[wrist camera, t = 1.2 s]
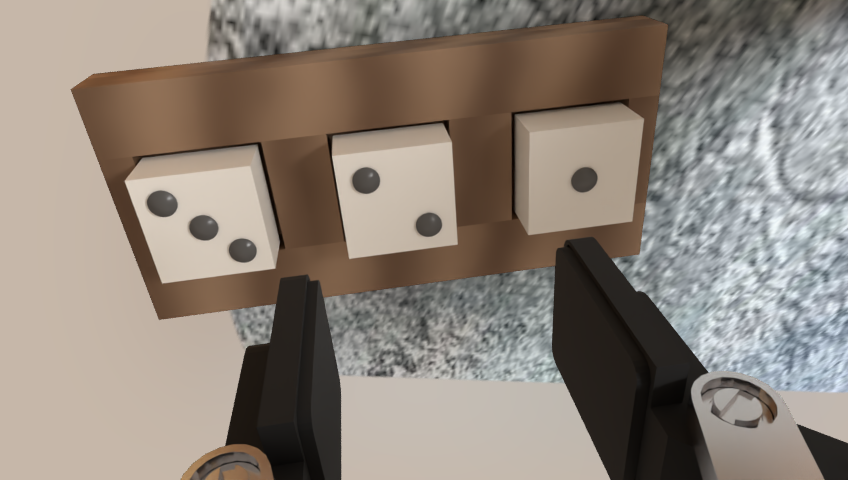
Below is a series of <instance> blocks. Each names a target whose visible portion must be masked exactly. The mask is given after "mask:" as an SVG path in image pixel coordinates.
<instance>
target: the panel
mask: <svg viewBox="0 0 848 480" xmlns="http://www.w3.org/2000/svg"><path fill="white" fill-rule="evenodd" d="M667 30H668V24H665V23H662V22H659V21H656V20H654V19H651V18H648V17H645V16H643V15H641V16H632V17H623V18H613V19H604V20H594V21H585V22H576V23H566V24H557V25H548V26H538V27H529V28H520V29H510V30H501V31H492V32H482V33H473V34H463V35H454V36H445V37H435V38H426V39H417V40H407V41H398V42H389V43H379V44H370V45H360V46H351V47H342V48H332V49H323V50H314V51H304V52H295V53H286V54H276V55H267V56H257V57H248V58H239V59H229V60H220V61H211V62H201V63H193V64H183V65H174V66H164V67H155V68H146V69H136V70H126V71H117V72H108V73H98V74H93V75H91V76H90V77H88V78H87V79H85V80H84V81H82V82H81V83H79V84H78V85H76V86H75V87H74V88H72V89H71V91H72V94H73V97H74V99H75V102H76V104H77V107H78V110H79V112H80V115H81V117H82V120H83V123H84V125H85V128H86V131H87V133H88V136H89V138H90V141H91V144H92V146H93V149H94V151H95V154H96V157H97V159H98V162H99V164H100V167H101V170H102V172H103V175H104V178H105V180H106V183H107V185H108V188H109V191H110V193H111V196H112V198H113V201H114V204H115V206H116V209H117V211H118V214H119V217H120V219H121V222H122V224H123V227H124V230H125V232H126V235H127V238H128V240H129V243H130V245H131V248H132V251H133V253H134V256H135V258H136V261H137V263H138V266H139V269H140V271H141V274H142V277H143V279H144V282H145V284H146V287H147V290H148V292H149V295H150V298H151V300H152V303H153V305H154V308H155V311H156V313H157V316H158V318H159V320H161V319H168V318H176V317H183V316H190V315H197V314H204V313H212V312H220V311H227V310H234V309H242V308H249V307H256V306H264V305H271V304H276V302H277V295H278V289H279V283H280V279H281V278H284V277H291V276H299V275H306V274H308V275H309V278H310V281H314V280H319V281H320V284H321V289H322V294H323V297H330V296H337V295H345V294H352V293H359V292H367V291H374V290H381V289H389V288H396V287H403V286H411V285H418V284H425V283H433V282H440V281H447V280H455V279H462V278H469V277H477V276H484V275H491V274H499V273H506V272H513V271H521V270H528V269H536V268H543V267H550V266H555V261H556V250H557V249H558V248H561V247H564V243H565V241H566V240H570V239H578V238H585V237H594V238H595V239H596V240H597V241H598V243H599V244H600V245H601V247H602V248H603V249H604V251H605V252H606V253H607V254H608V256H609V257H610V258H616V257H624V256H631V255H638V254H639V253H640V245H641V237H642V229H643V221H644V213H645V205H646V197H647V189H648V181H649V173H650V165H651V157H652V150H653V142H654V134H655V126H656V118H657V110H658V102H659V94H660V86H661V78H662V70H663V62H664V54H665V46H666V38H667ZM616 102H621V103H622V104H624V105H625V106H626V107H628V108H629V109H631V110H632V111H634V112H635V113H636V114H638V115H639V116H641V117H642V118H644V124H643V132H642V141H641V150H640V159H639V167H638V176H637V185H636V193H635V202H634V211H633V220H632V222H625V223H617V224H610V225H602V226H594V227H587V228H579V229H572V230H564V231H556V232H549V233H541V234H534V235H528V234H527V232H526V230H525V228H524V227H523V225H522V223H521V221H520V220H519V218H518V216H517V215H516V213H515V150H514V114H522V113H530V112H539V111H547V110H556V109H564V108H573V107H581V106H590V105H598V104H607V103H616ZM436 123H443V124H444V127H445V129H446V131H447V133H448V135H449V137H450V139H451V141H452V154H453V172H454V189H455V207H456V224H457V242H458V245H450V246H443V247H435V248H428V249H420V250H413V251H405V252H397V253H390V254H382V255H375V256H367V257H360V258H352V259H349V255H348V249H347V243H346V237H345V231H344V225H343V219H342V213H341V207H340V201H339V195H338V189H337V183H336V177H335V171H334V165H333V159H332V140H333V136H334V135H342V134H351V133H359V132H368V131H377V130H385V129H394V128H402V127H411V126H419V125H428V124H436ZM257 144H258V148H259V153H260V157H261V161H262V165H263V170H264V174H265V178H266V183H267V187H268V191H269V196H270V200H271V204H272V208H273V213H274V217H275V221H276V226H277V230H278V234H279V238H280V245H279V251H278V256H277V262H276V268H275V269H269V270H261V271H253V272H246V273H238V274H231V275H223V276H216V277H208V278H200V279H193V280H185V281H178V282H170V283H163V284H162V282H161V279H160V276H159V274H158V271H157V268H156V266H155V263H154V260H153V257H152V255H151V252H150V249H149V246H148V244H147V241H146V238H145V235H144V233H143V230H142V227H141V225H140V222H139V219H138V216H137V214H136V211H135V208H134V205H133V203H132V200H131V197H130V194H129V192H128V189H127V186H126V184H125V180H126V178H127V177H128V176H129V175H130V173H131V172H132V171H133V169H134V168H135V167H136V166H137V164H138V163H139V162H140V161H141V159H142V158H146V157H155V156H163V155H172V154H180V153H189V152H197V151H206V150H214V149H223V148H231V147H240V146H248V145H257Z"/></svg>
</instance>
